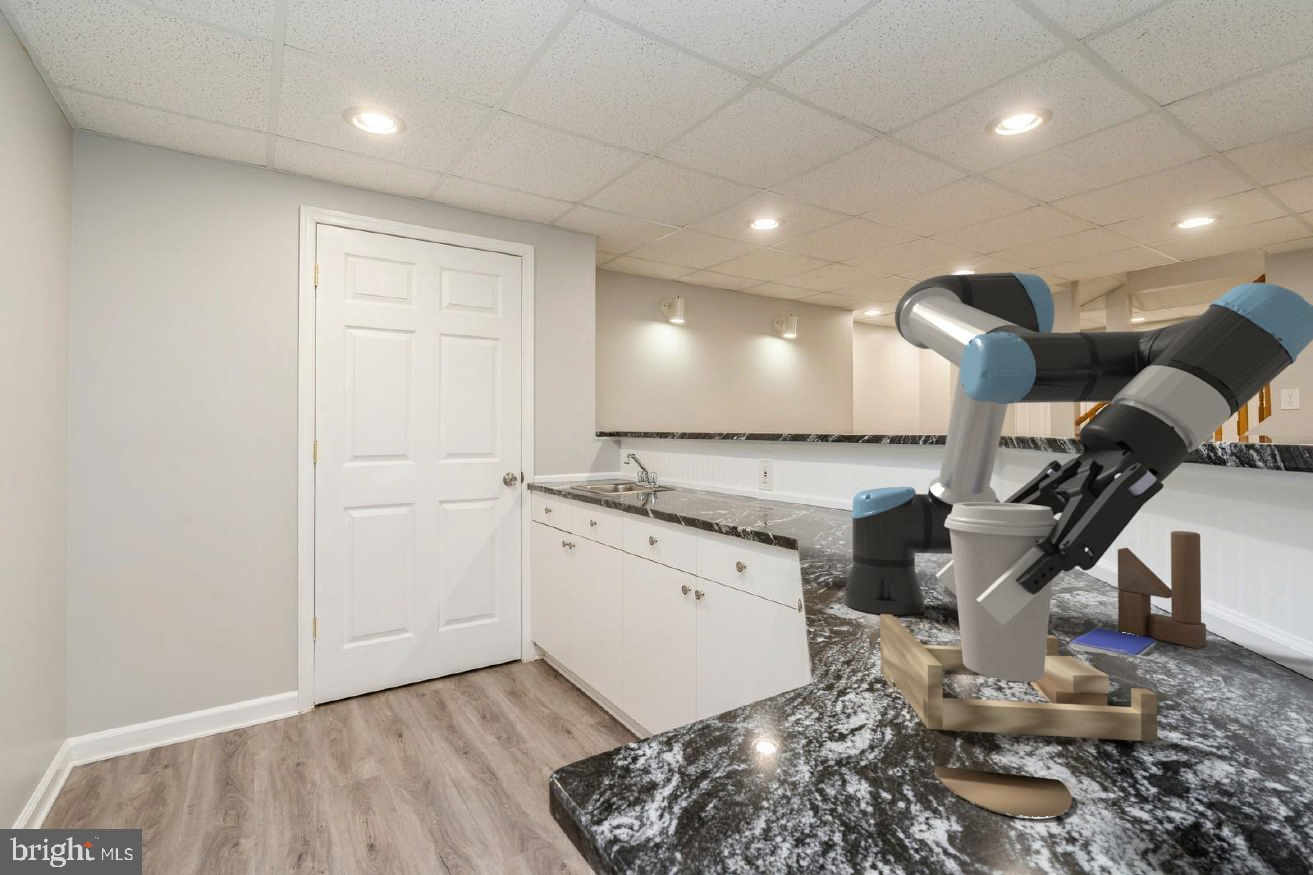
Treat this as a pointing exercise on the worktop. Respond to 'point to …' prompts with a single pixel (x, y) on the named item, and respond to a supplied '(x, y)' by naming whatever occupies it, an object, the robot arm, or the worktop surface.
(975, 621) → the coffee cup
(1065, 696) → the offcut mid
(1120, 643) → the hard drive
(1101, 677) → the offcut top
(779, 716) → the worktop surface
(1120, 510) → the robot arm
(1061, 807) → the trivet
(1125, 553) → the brown wooden block structure
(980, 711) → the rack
